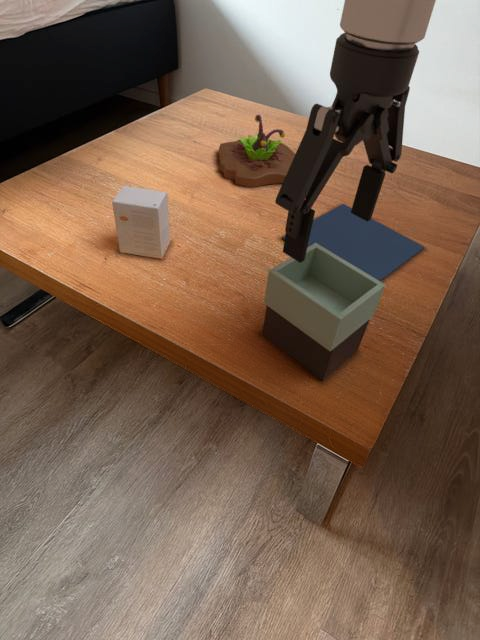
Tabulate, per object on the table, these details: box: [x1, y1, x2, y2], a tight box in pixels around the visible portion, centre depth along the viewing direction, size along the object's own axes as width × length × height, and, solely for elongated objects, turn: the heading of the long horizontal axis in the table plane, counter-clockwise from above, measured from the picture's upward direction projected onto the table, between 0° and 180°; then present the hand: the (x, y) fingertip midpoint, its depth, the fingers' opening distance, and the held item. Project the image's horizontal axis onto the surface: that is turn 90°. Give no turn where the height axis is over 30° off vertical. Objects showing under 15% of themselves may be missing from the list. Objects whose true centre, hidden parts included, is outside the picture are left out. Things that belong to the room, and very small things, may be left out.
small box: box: [111, 185, 171, 260], centre depth 79 cm, size 8×6×10 cm
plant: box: [218, 114, 296, 188], centre depth 104 cm, size 20×20×11 cm
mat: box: [281, 203, 425, 282], centre depth 88 cm, size 20×20×1 cm
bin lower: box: [261, 305, 370, 382], centre depth 66 cm, size 12×8×7 cm
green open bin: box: [263, 243, 386, 351], centre depth 62 cm, size 12×10×6 cm
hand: (329, 235), depth 56 cm, fingers open, 13 cm apart
